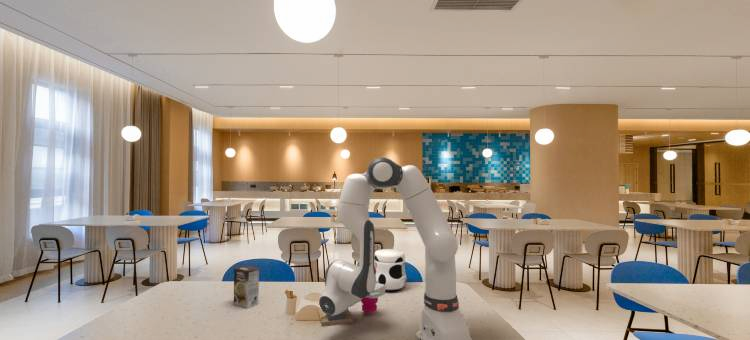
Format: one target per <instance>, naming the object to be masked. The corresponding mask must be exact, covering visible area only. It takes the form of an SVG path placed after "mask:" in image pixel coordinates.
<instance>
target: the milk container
mask: <svg viewBox="0 0 750 340" xmlns="http://www.w3.org/2000/svg"><path fill="white" fill-rule="evenodd" d="M374 267H375V268H376V275H375V276H376V281H378V283H379V284H384V285H385V292H387V291H388V292H393V291H399V290H402V289H404V288H405V286H406V284H407V279H408V278H407V273H406V269H405V268H406V254H405V251H404V250H400V249H395V248H383V249H377V250H375V256H374Z"/></svg>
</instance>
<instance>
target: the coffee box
mask: <svg viewBox="0 0 750 340" xmlns="http://www.w3.org/2000/svg"><path fill="white" fill-rule="evenodd" d="M259 276H260V268H259V267H257V266H256V267H255V266H252V265H251V266H249V265H241V266H238V267H234V268H233V305H234V306H237V307H241V308H243V309H244V308H246V309H251V308H252V307H254V306H255V307H256V305H259V290H260V289H259V288H260V287H259V286H260V285H259V284H260V283H259V282H260V277H259Z"/></svg>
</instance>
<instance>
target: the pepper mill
mask: <svg viewBox="0 0 750 340" xmlns="http://www.w3.org/2000/svg"><path fill="white" fill-rule="evenodd" d="M374 268H375V267H374ZM375 275H376V268H375ZM378 301H379V297H378V298H368V297H364V298H362V300H361V301H360V302H361V304H362V305H361V311H362V312H364V313H370V314H371V313H375V312H376V311H377V310H378V305H377V303H378Z"/></svg>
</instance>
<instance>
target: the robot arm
mask: <svg viewBox="0 0 750 340" xmlns="http://www.w3.org/2000/svg"><path fill="white" fill-rule="evenodd" d="M390 187H393V188H395V190H397V192H398V193H399V195H400V197H401V199H402V201H403V203H404V205H405V207H406V209H407V211H408V213H409V215H410V217H411V219H412V221H413V223H414V226H415V228H416V230H417V233H418V234H419V237H420V239H421V241H422V243H423V245H424V260H425V263H424V266H425V269H424V274H425V275H424V276H425V284H424V293H423V303H424V305H423V306H424V307H423V308H422V310H421V311H420V318H419V319H420V320H419V329H418V331H416V332H415V333H416V334H415V337H416V338H418V340H420V339H421V340H473V339H472V337H471V334H470V332H471V331H470V328H471V325H470V322H469V321H466V320H465V318H464V314H463V313H462V312H461V311H460V302H459V299H458V295H457V270H456V269H457V268H456V254H457V252H458V249H459V243H458V242H459V241H458V239H457V237H456V234H455V232H454V230H453V229H452V227H451V225H450V223H449V221H448V219H447V217H446V215H445V213H444V212H443V209H442V208H441V206H440V204H439V202H438V200H437V198H436V196H435V194H434V192H433V190H432V187H430V185H429V183H428V181H427V179H426V178H425V176H424V174H422V172H421V171H420V169H419V168H418V167H417V166H415V165H414V164H413V165H412V164H408V165H404V166H401V165H399V164H398V163H396V162H395V161H393V160H392V159H389V158H387V157H376V158H374V159H372V161H371V162H369V164H368V166H367V169H366V171H365V172H364V173H352V174H349V175H347V177H346V178H345V180H344V182H343V185H342V188H341V192H340V196H339V202H338V207H337V216H338V219H339V221H340V223H341V224H342V225H343V226H344V227H345V228H346V229H348V230H349V231H351V232H352V233H353V234H354V235H355V237H356V238H357V239H358V241H359V265H357V264H354V263H351V262H348V261H344V260H340V259H336V260H334V261H332V262H331V263H330V264H329V265H328V266H327V268H326V270H325V273H324V284H325V285H324V286H325V287H324V290H323V292H322V294H321V295H320V297H319V301H318V302H319V305H320V307H321V309H322V311H323V312H324V313H326V314H328V315H331V316H333V315H337V314H340V313H342V312H343V311H345V310H347V309H348V310H349V308H350V307H353V306H355V305H356V304H358V303H360V302H361V300H362V298H364V297H368V298H378V299H379V298H380V297H382V296H384V295H385V294H386V291H385V285H384V284H379V283H378V281H376V276H375V268H374V260H375V258H374V256H375V252H376V249H375V246H376V245H375V237H376V236H375V235H376V234H375V225H374V223H373V222H372V221H371V219H370V213H369V208H370V201H371V197H372V194H373V193H374V191H378V190H385V189H388V188H390Z"/></svg>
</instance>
